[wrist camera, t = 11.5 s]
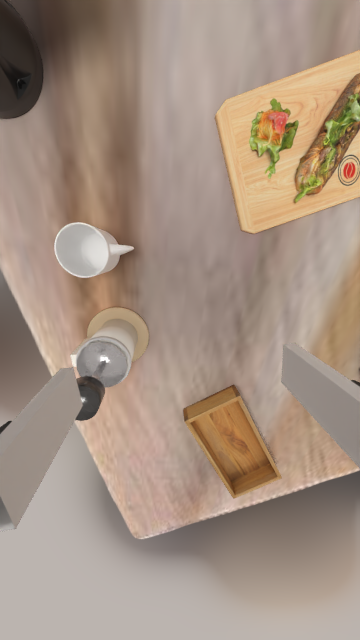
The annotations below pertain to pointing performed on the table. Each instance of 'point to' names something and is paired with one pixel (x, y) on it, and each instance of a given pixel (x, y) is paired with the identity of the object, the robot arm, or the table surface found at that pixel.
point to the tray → (231, 441)
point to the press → (117, 333)
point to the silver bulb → (98, 374)
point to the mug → (87, 250)
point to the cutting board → (293, 144)
